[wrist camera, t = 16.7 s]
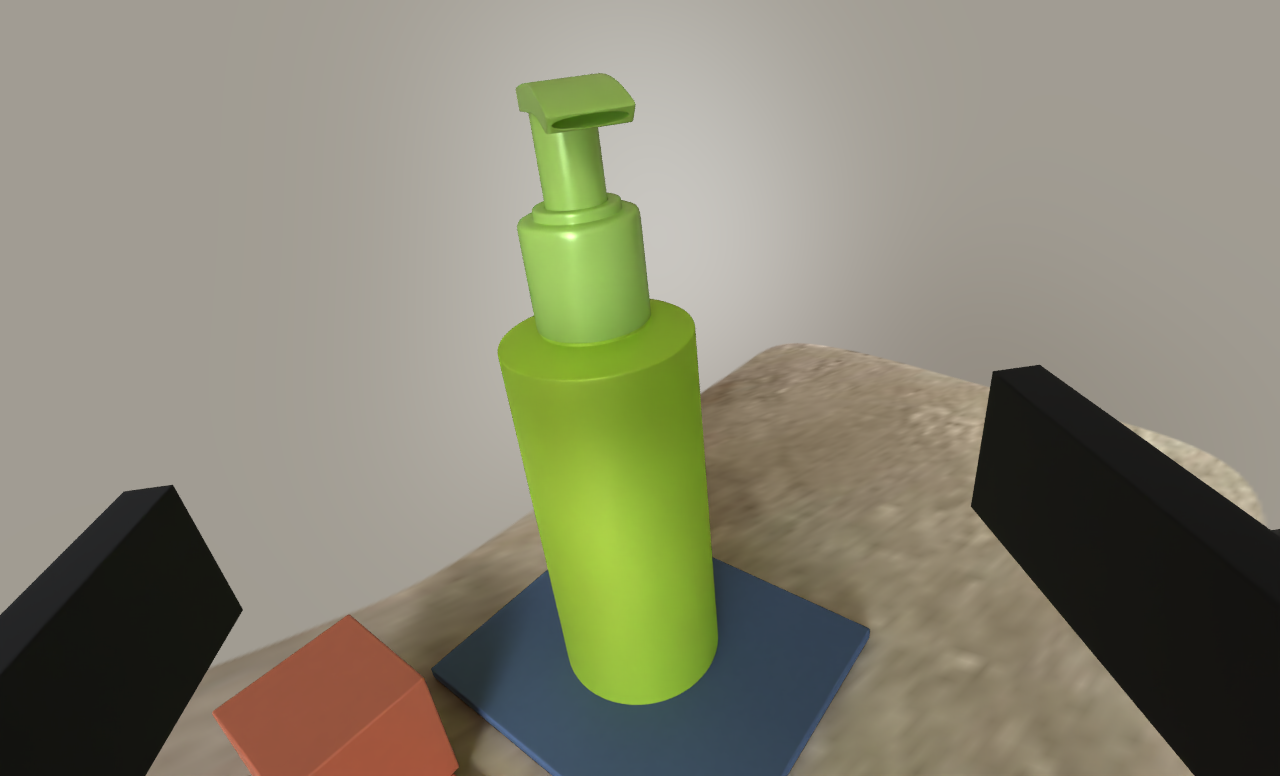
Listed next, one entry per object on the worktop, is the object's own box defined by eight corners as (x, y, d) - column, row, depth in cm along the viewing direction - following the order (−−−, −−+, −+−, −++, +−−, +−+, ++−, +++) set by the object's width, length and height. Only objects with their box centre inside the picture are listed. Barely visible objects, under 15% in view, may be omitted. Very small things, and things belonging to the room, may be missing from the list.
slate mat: (869, 637, 25) (870, 628, 25) (709, 907, 18) (708, 898, 18) (615, 519, 33) (614, 512, 33) (433, 677, 26) (430, 668, 26)
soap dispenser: (589, 754, 22) (435, 103, 12) (557, 604, 28) (436, 87, 18) (754, 701, 23) (728, 63, 13) (689, 567, 29) (639, 61, 19)
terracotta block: (460, 766, 22) (424, 677, 20) (335, 892, 19) (277, 803, 17) (387, 698, 25) (349, 612, 22) (267, 799, 22) (210, 711, 20)
